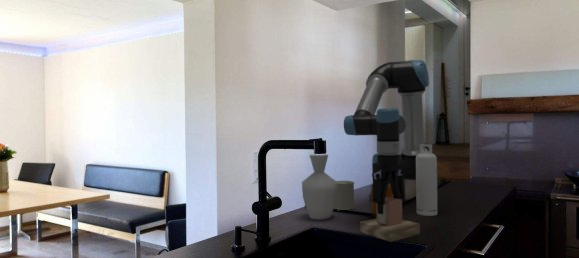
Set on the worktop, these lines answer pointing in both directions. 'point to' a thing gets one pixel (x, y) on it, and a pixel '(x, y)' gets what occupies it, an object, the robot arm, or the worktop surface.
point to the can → (344, 195)
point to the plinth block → (390, 230)
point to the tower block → (392, 211)
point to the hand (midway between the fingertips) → (389, 221)
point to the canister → (388, 194)
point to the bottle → (426, 182)
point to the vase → (319, 190)
